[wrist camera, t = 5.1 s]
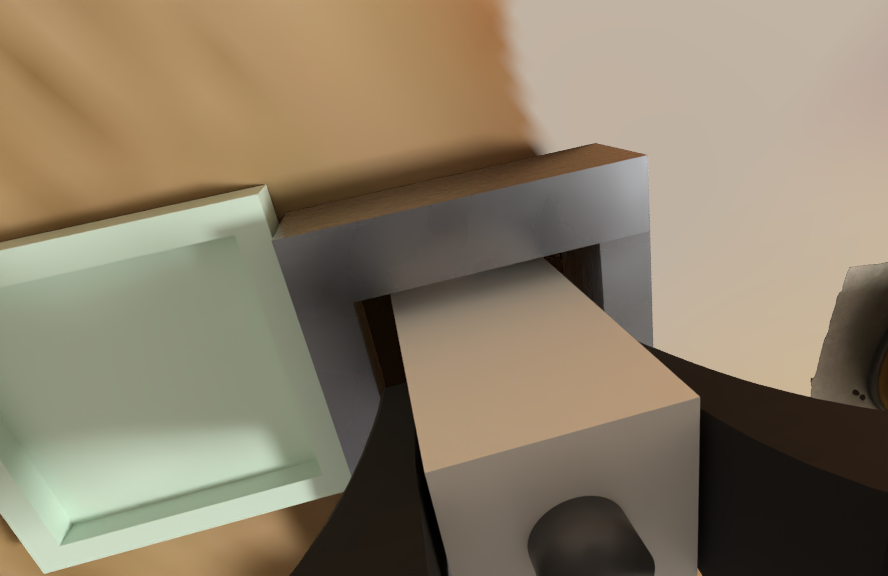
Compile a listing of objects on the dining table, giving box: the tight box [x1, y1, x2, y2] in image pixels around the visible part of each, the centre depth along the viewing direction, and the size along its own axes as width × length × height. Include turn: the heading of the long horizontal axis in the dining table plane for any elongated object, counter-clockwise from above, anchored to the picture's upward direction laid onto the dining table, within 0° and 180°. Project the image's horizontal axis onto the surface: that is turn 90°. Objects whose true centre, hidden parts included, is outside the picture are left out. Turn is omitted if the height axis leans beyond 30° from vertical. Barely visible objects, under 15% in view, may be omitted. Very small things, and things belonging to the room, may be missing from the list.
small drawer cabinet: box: [272, 143, 653, 576], centre depth 15 cm, size 18×8×3 cm, turn 10°
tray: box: [0, 185, 351, 574], centre depth 13 cm, size 8×8×1 cm
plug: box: [390, 257, 700, 576], centre depth 10 cm, size 4×4×7 cm
